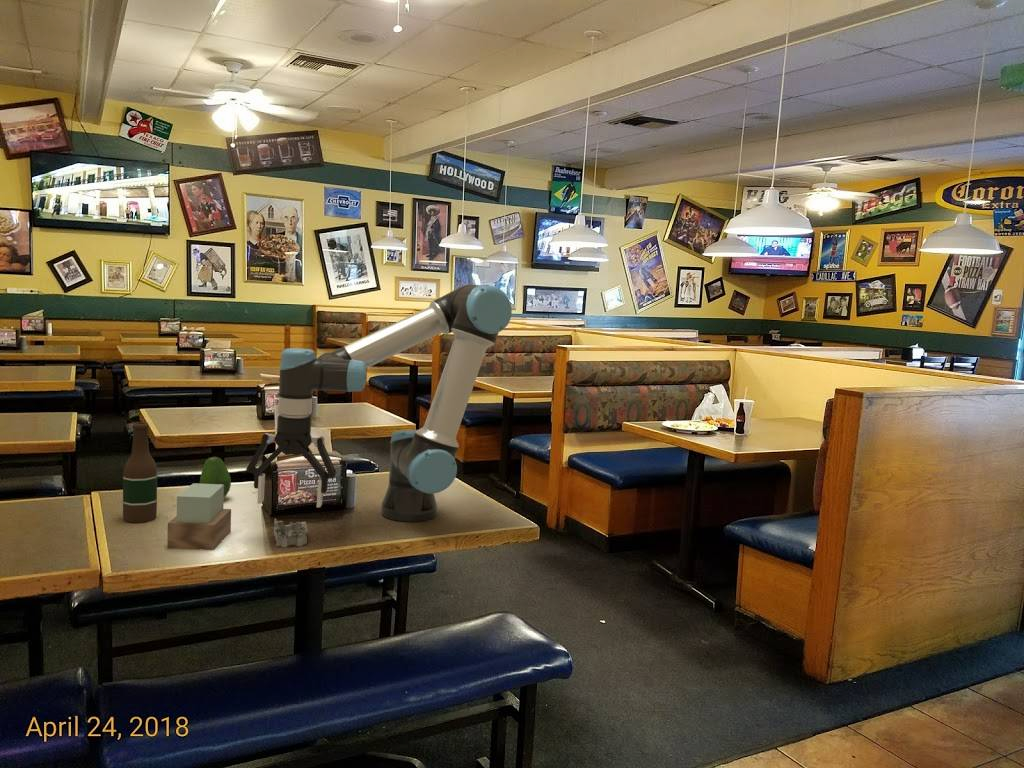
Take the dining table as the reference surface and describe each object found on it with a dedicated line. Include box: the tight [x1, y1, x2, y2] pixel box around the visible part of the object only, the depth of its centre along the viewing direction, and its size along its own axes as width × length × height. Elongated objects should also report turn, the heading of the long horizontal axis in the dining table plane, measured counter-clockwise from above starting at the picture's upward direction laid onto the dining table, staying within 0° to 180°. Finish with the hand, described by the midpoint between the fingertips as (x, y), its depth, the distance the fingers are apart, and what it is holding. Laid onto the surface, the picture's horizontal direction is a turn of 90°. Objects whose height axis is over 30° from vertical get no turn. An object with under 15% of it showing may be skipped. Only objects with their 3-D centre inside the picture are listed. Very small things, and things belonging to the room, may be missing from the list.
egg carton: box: [273, 518, 308, 548], centre depth 170 cm, size 11×8×4 cm
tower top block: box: [176, 482, 225, 524], centre depth 165 cm, size 7×11×6 cm, turn 6°
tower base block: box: [166, 508, 232, 551], centre depth 165 cm, size 10×12×6 cm
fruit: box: [199, 456, 232, 498], centre depth 195 cm, size 8×8×12 cm
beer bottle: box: [122, 421, 158, 524], centre depth 176 cm, size 8×8×24 cm
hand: (290, 504), depth 169 cm, fingers open, 13 cm apart
